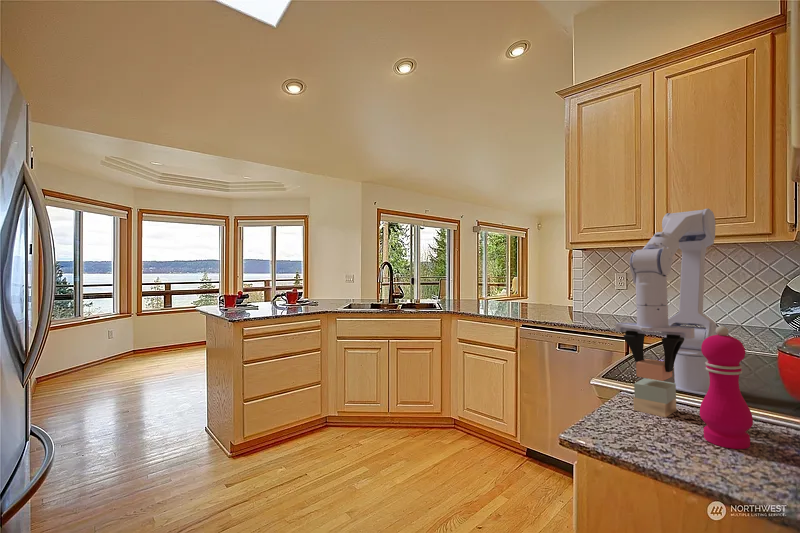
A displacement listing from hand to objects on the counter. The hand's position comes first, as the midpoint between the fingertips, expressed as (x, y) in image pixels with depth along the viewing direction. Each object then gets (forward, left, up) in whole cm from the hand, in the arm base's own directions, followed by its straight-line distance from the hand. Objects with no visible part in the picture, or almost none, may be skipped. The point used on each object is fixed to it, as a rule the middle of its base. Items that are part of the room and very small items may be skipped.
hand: (654, 368), depth 86 cm
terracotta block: (0, 0, -2) cm, 2 cm away
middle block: (0, 0, -6) cm, 6 cm away
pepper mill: (+8, +14, -9) cm, 18 cm away
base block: (0, 0, -9) cm, 9 cm away
